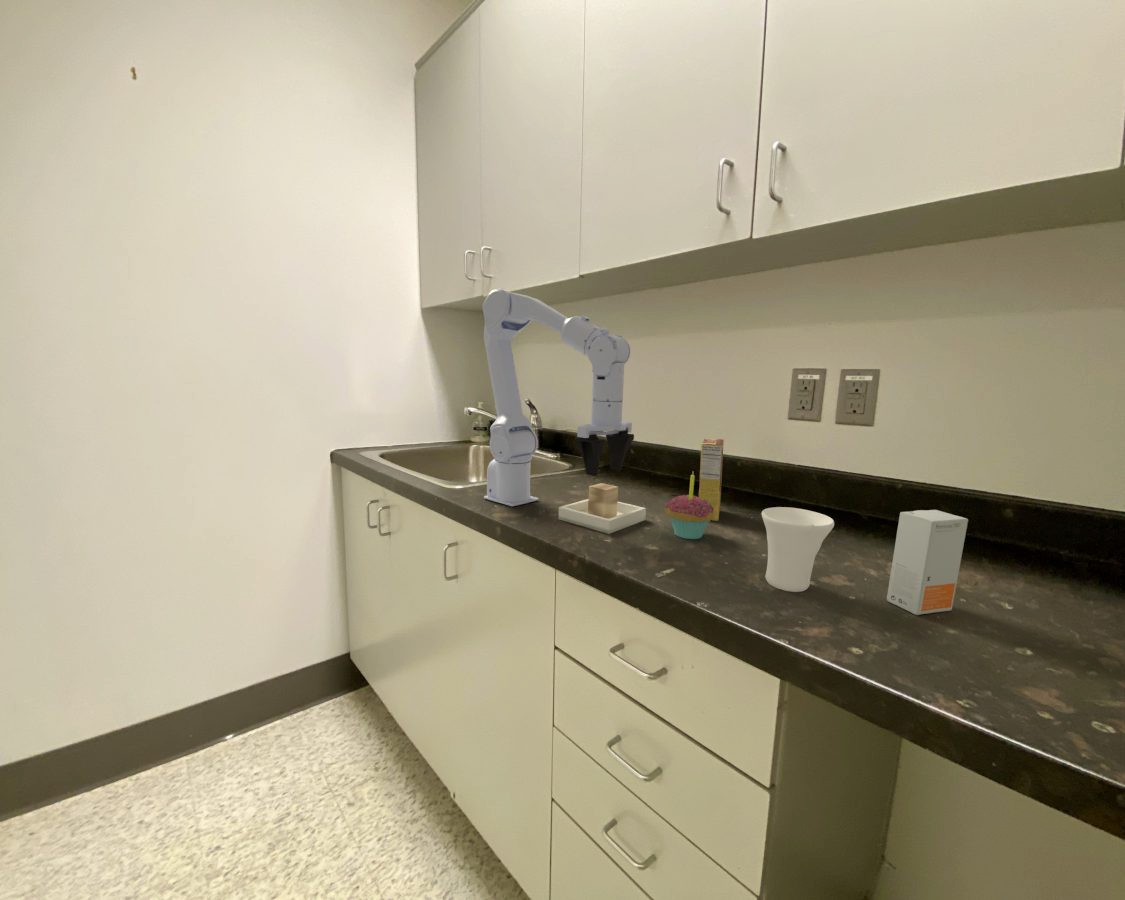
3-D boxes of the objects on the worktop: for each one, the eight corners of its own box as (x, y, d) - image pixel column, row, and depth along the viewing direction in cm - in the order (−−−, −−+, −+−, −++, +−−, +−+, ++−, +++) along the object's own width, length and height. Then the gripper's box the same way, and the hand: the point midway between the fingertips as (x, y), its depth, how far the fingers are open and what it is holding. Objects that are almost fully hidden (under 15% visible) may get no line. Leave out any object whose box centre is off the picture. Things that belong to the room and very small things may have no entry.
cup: (765, 596, 62) (772, 522, 61) (748, 568, 71) (754, 503, 70) (838, 602, 61) (848, 527, 60) (811, 573, 70) (819, 507, 69)
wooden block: (587, 516, 93) (588, 486, 92) (600, 512, 96) (601, 483, 95) (604, 521, 91) (605, 490, 90) (616, 516, 94) (618, 486, 93)
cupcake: (715, 544, 81) (721, 475, 79) (664, 540, 82) (668, 472, 81) (708, 529, 90) (713, 465, 88) (662, 525, 91) (666, 463, 89)
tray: (558, 519, 93) (558, 507, 93) (596, 507, 102) (596, 496, 101) (608, 534, 85) (609, 520, 85) (645, 520, 94) (645, 508, 94)
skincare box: (917, 617, 58) (932, 521, 56) (885, 601, 62) (898, 511, 60) (954, 611, 60) (970, 518, 58) (920, 596, 64) (934, 508, 62)
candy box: (699, 507, 104) (704, 437, 102) (720, 510, 103) (725, 439, 100) (695, 519, 96) (701, 443, 93) (718, 521, 94) (724, 444, 92)
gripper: (600, 403, 82) (597, 481, 84) (646, 401, 93) (642, 470, 95) (569, 400, 86) (567, 474, 89) (616, 399, 97) (613, 465, 99)
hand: (604, 472), depth 92 cm, fingers open, 7 cm apart
